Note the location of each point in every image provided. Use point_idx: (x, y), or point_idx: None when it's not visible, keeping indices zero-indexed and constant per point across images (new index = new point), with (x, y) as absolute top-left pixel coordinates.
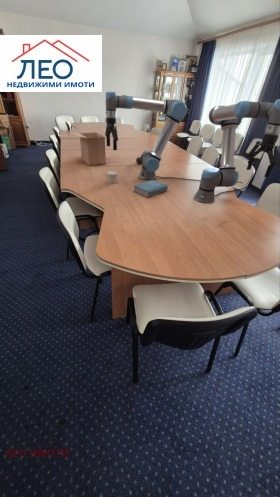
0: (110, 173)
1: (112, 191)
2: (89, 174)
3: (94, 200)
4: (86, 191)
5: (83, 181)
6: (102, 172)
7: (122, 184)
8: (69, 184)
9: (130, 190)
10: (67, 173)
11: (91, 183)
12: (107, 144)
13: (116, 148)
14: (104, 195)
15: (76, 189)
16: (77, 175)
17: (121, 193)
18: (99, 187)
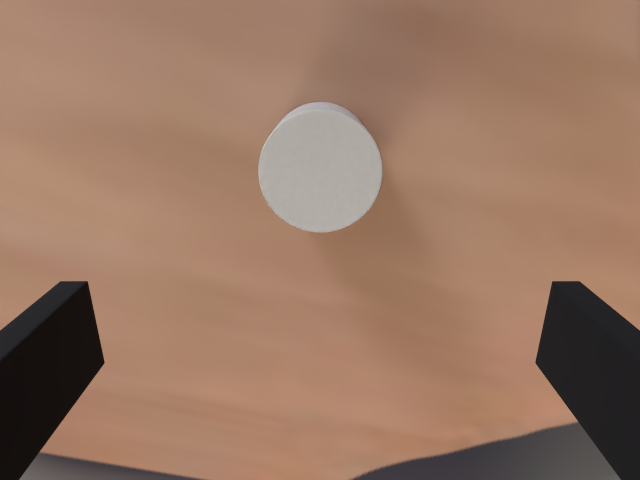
0: (336, 200)
1: (538, 242)
2: None
3: None
4: (445, 405)
5: (241, 374)
6: (18, 145)
7: (430, 83)
8: (275, 464)
9: (607, 75)
10: None
11: (304, 334)
12: (78, 382)
13: (604, 313)
14: None
15: (382, 448)
16: None
17: (617, 188)
18: (411, 305)
